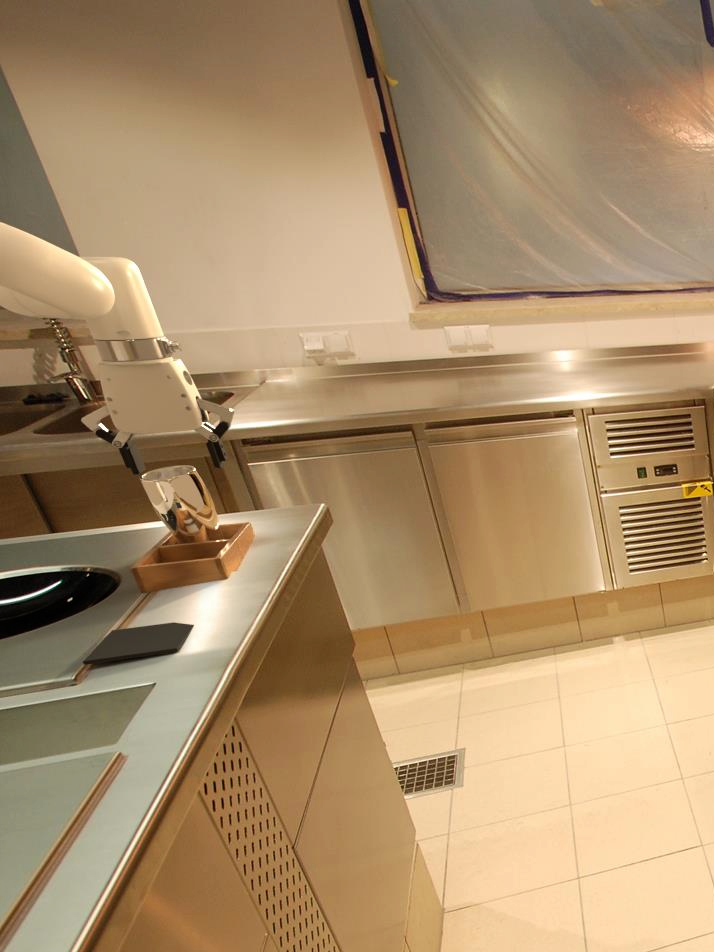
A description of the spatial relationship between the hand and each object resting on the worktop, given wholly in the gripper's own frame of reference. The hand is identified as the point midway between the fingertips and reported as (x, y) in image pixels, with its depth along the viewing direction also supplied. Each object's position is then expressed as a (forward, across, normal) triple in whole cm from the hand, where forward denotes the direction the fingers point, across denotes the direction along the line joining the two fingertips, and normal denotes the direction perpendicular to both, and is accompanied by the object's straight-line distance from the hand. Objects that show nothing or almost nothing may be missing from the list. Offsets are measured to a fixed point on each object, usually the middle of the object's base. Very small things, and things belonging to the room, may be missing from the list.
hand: (181, 469), depth 127 cm
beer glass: (+15, 0, 0) cm, 15 cm away
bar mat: (+15, +1, +32) cm, 35 cm away
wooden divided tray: (+15, 0, +5) cm, 16 cm away
